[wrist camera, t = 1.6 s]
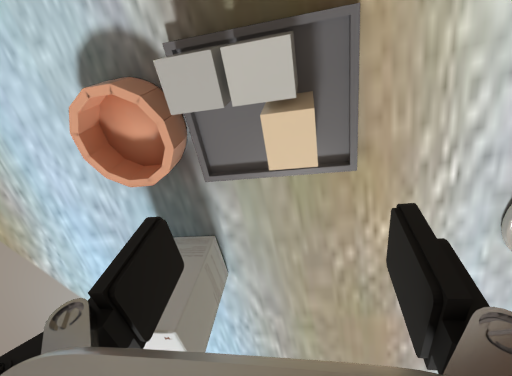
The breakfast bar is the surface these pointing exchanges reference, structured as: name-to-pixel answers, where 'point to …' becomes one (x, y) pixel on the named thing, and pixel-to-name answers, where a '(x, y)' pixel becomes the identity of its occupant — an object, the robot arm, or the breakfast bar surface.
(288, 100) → the beige rectangular block
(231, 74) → the grey cube
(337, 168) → the tray
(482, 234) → the breakfast bar surface
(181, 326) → the supplement box
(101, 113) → the bowl
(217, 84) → the grey cube
